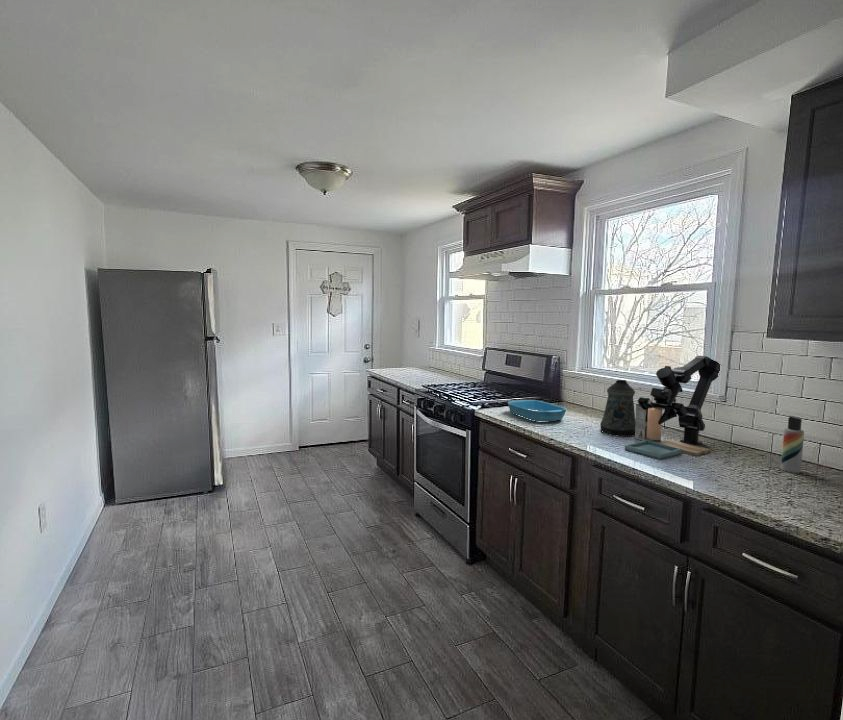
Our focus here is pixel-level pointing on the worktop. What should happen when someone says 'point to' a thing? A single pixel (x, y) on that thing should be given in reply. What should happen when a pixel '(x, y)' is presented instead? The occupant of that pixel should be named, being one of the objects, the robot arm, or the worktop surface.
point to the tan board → (687, 447)
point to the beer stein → (619, 410)
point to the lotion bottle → (792, 446)
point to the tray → (653, 449)
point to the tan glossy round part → (654, 423)
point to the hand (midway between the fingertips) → (652, 422)
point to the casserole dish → (544, 409)
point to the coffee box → (641, 424)
